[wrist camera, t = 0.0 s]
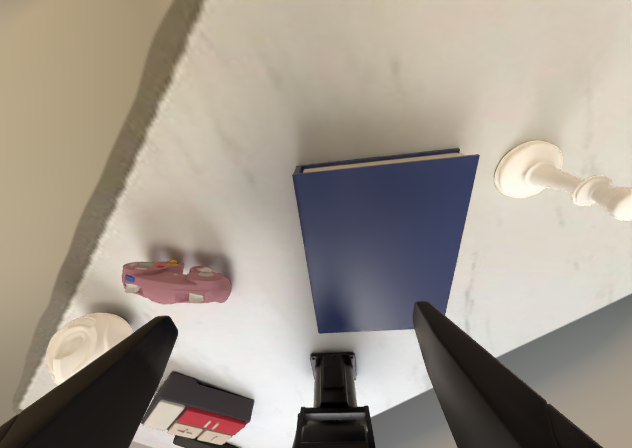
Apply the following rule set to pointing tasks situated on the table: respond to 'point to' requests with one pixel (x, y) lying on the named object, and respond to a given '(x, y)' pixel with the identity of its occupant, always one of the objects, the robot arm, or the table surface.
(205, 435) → the calculator
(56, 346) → the white ball
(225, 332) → the table surface
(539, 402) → the robot arm
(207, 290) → the video game controller
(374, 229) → the blue book
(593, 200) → the chess piece
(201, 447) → the remote control
